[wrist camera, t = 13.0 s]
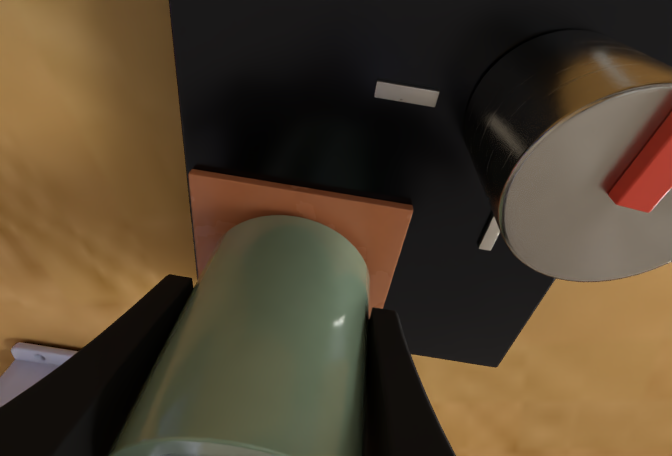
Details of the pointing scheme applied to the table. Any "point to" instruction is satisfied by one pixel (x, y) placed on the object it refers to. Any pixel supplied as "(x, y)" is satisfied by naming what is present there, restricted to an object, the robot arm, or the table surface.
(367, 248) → the tile
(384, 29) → the warmer
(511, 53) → the dial
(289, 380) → the sage green cylinder
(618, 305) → the table surface
